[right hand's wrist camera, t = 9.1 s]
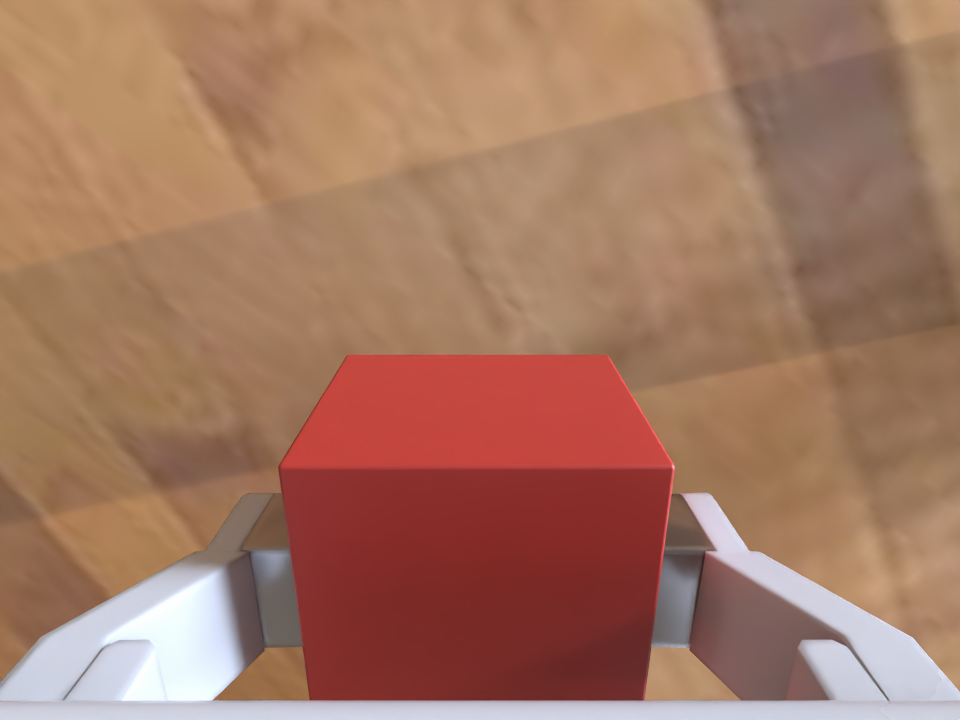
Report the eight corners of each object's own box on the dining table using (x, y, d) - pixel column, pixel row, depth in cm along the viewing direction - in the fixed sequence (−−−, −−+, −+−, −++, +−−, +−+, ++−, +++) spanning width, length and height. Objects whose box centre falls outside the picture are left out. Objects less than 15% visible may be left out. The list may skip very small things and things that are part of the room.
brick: (346, 353, 11) (276, 466, 7) (608, 354, 11) (677, 466, 7) (365, 573, 13) (316, 756, 9) (590, 573, 13) (638, 757, 9)
